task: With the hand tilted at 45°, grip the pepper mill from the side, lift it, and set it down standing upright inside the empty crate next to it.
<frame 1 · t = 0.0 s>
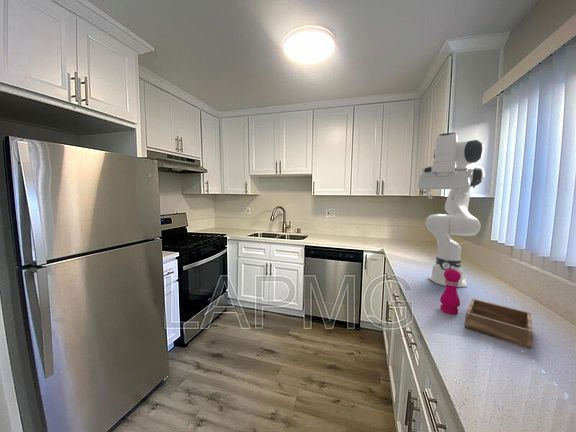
hand: (441, 199, 115), 48 cm above the countertop, tool pointing down, fingers open, 8 cm apart
pepper mill: (449, 311, 107), on the countertop
crate: (496, 327, 94), on the countertop
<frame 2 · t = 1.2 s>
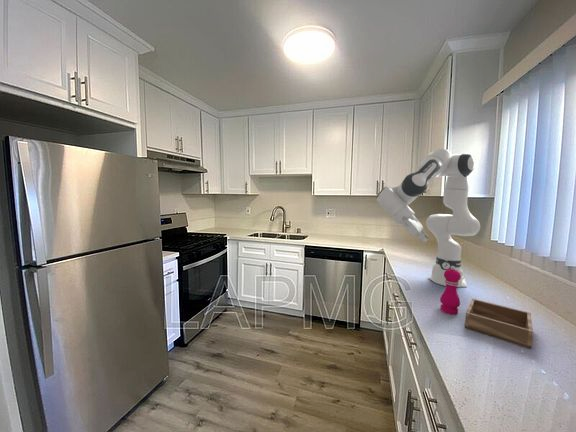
hand: (426, 240, 110), 30 cm above the countertop, tool tilted 45°, fingers open, 8 cm apart
nothing on the countertop moved.
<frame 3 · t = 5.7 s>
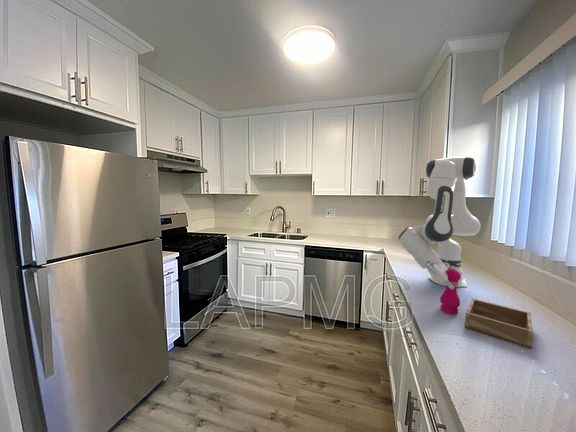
hand: (453, 285, 106), 11 cm above the countertop, tool tilted 45°, fingers closed on pepper mill, 5 cm apart
pepper mill: (449, 311, 107), on the countertop, touching gripper
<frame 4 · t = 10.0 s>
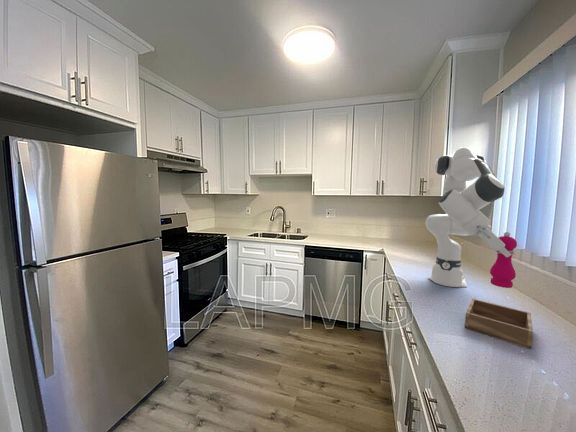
hand: (507, 254, 91), 29 cm above the countertop, tool tilted 45°, fingers closed on pepper mill, 5 cm apart
pepper mill: (501, 285, 92), point 17 cm above the countertop, touching gripper
when the fingers open (14 cm above the countertop, at t = 14.2 s): pepper mill moves 2 cm, resting on crate.
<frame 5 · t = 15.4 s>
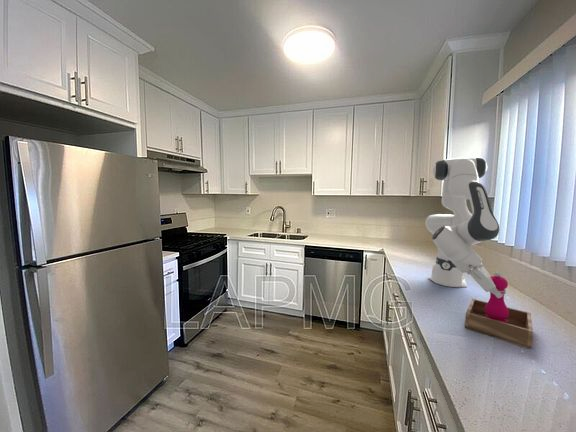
hand: (498, 292, 93), 14 cm above the countertop, tool tilted 45°, fingers open, 8 cm apart
pepper mill: (496, 323, 96), point 1 cm above the countertop, touching crate, gripper
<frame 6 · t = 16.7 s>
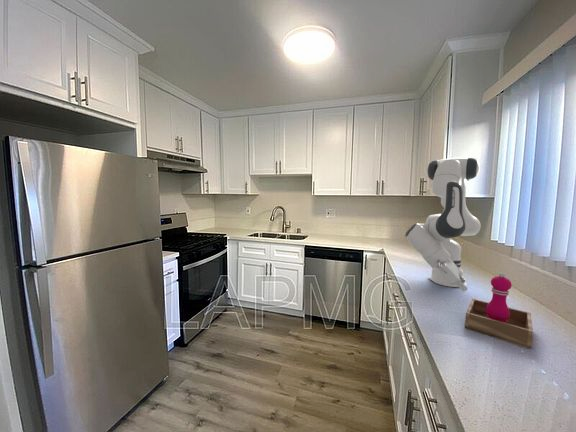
hand: (464, 286, 98), 14 cm above the countertop, tool tilted 45°, fingers open, 8 cm apart
pepper mill: (496, 323, 96), point 1 cm above the countertop, touching crate
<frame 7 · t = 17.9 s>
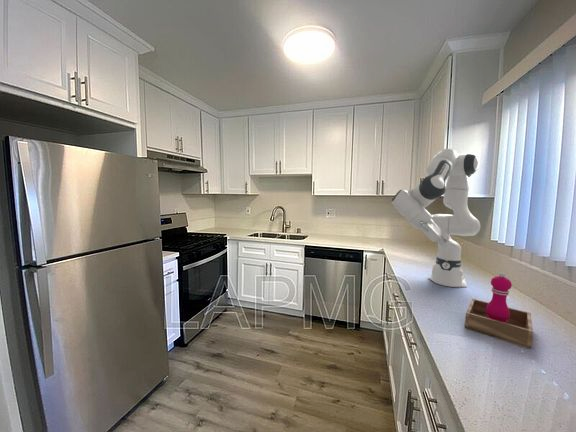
hand: (446, 244, 105), 29 cm above the countertop, tool tilted 45°, fingers open, 8 cm apart
nothing on the countertop moved.
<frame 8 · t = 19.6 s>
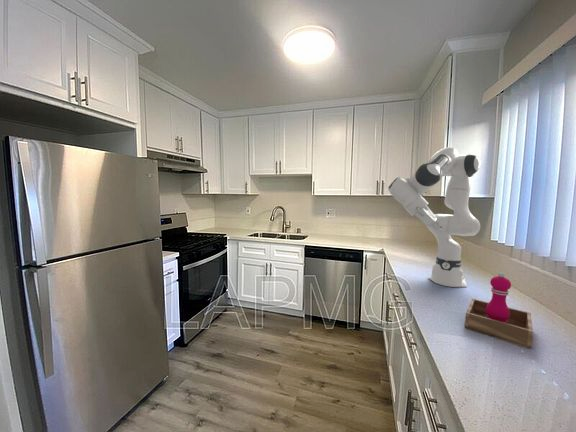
hand: (441, 230, 107), 34 cm above the countertop, tool tilted 45°, fingers open, 8 cm apart
nothing on the countertop moved.
at the end: pepper mill inside the target area on the crate (1.9 cm from its centre), point 0.8 cm above the crate's base; pepper mill tilted 0°; the gripper is holding nothing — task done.
